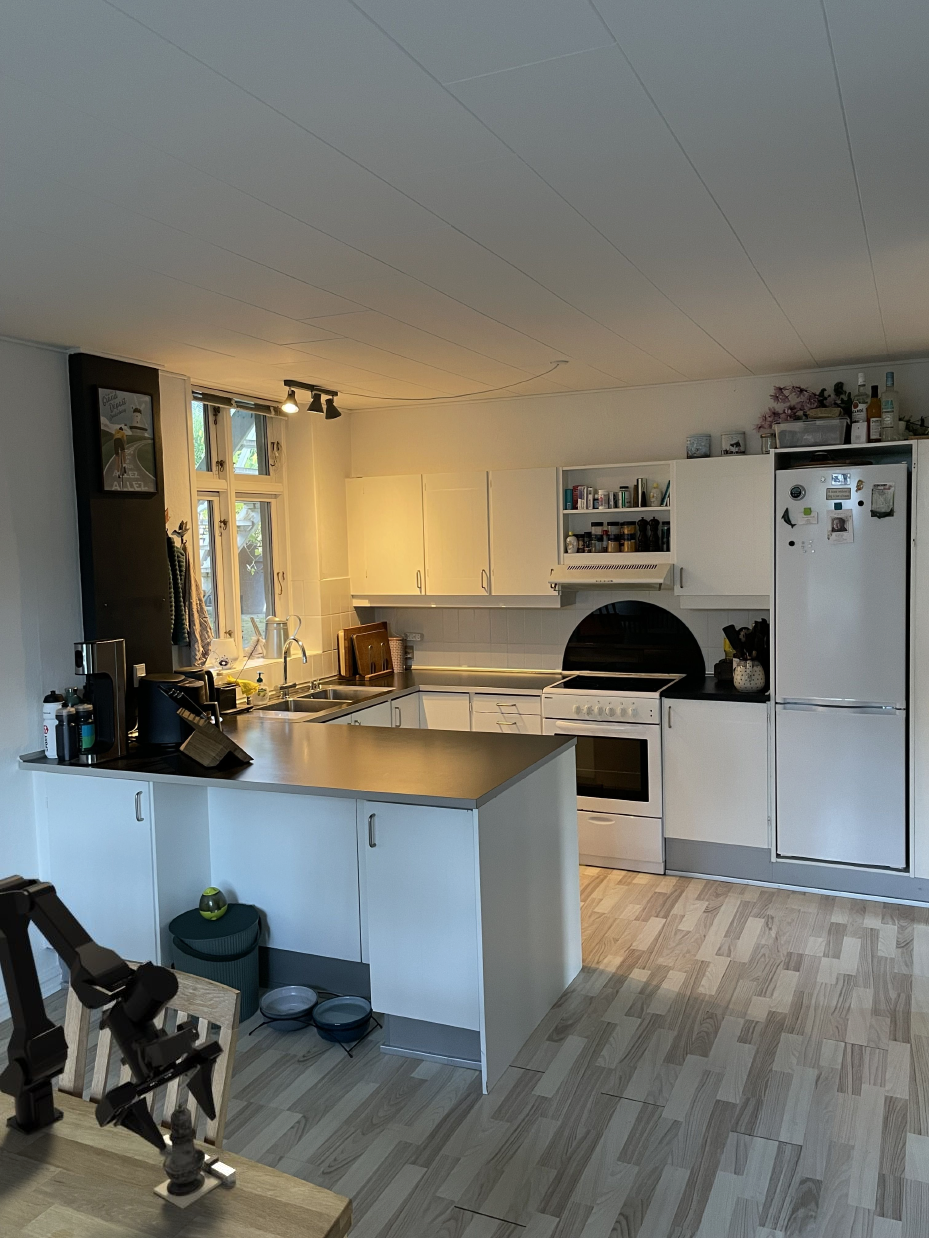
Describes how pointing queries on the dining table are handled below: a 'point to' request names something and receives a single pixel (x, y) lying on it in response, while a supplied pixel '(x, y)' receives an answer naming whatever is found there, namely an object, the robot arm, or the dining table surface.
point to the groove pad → (186, 1200)
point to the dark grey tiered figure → (183, 1156)
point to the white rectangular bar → (211, 1166)
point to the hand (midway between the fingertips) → (190, 1133)
